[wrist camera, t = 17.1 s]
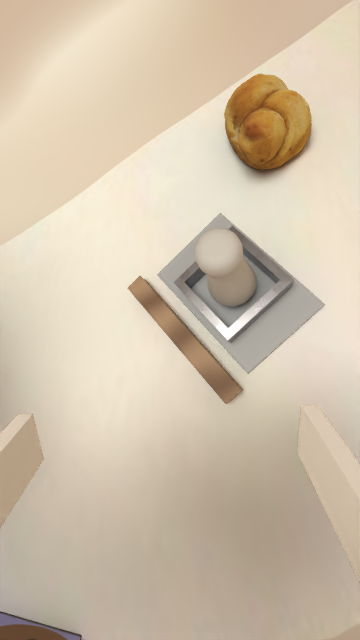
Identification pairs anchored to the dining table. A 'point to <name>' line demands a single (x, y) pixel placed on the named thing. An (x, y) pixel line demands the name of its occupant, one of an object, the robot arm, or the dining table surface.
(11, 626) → the cereal box
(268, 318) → the keeper plate
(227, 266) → the salt shaker
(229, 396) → the door-edge bar
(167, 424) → the dining table surface
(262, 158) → the bread roll
